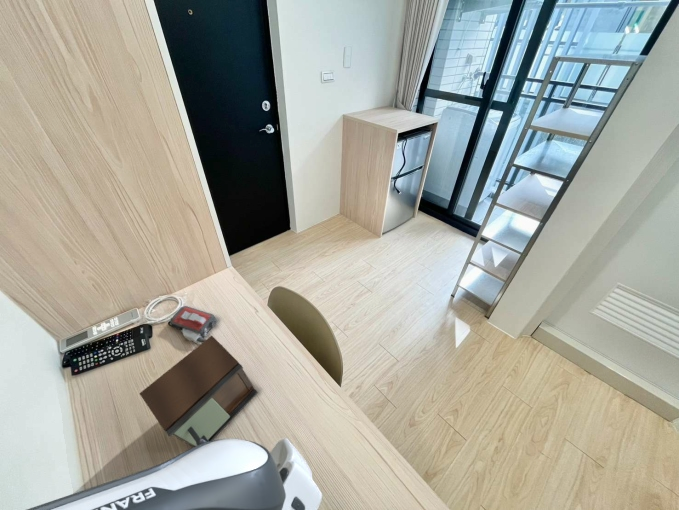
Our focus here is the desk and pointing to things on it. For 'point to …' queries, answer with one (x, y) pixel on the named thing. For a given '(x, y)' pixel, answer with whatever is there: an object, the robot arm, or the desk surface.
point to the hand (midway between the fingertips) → (229, 492)
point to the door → (203, 423)
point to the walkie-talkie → (193, 323)
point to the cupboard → (199, 387)
